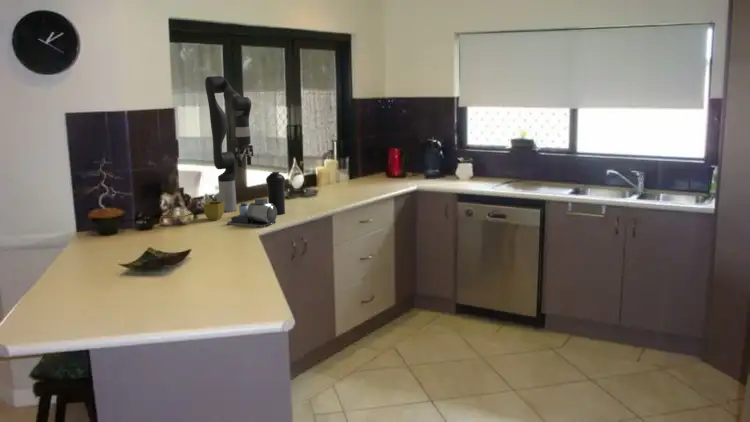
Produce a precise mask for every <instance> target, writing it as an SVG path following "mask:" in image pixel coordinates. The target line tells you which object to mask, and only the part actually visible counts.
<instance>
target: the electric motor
mask: <svg viewBox="0 0 750 422" xmlns="http://www.w3.org/2000/svg"><path fill="white" fill-rule="evenodd" d="M248 205H249V207H248V210H247V216H248V217H241V216H240V214H238V215H234V216H232V217H231V220H230V221H227V222H226V224H227V225H232V226H242V225H244V226H243V227H255V226H265V227H267V226H266V225H268V226H270V225H272V224H271V223H273V224H275V223H276V222H277V221H276V219H277V216H278V215H277V209H276V207H275V206H274V204H270V203H269V202H268V197H267V198H265V197H263V198H262V197H258V198H255V199H254V202H251V203H249V204H248ZM274 222H275V223H274ZM269 224H270V225H269Z"/></svg>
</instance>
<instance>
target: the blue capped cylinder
mask: <svg viewBox="0 0 750 422" xmlns="http://www.w3.org/2000/svg"><path fill="white" fill-rule="evenodd" d="M249 205H250V204H248V203H247V202H242V203H240V205H239V206H238V207H239V208H238V209H239V215H240V216H241V217H248V216H247V210H248V207H249Z"/></svg>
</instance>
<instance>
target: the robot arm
mask: <svg viewBox="0 0 750 422" xmlns="http://www.w3.org/2000/svg"><path fill="white" fill-rule="evenodd" d="M204 84H205V92H206V98H207V101H208V102H207V104H208V110H209V120H210V122H209V123H210V128H211V129H210V130H211V135H212V136H211V137H212V151H213V152H212V153H213V157H212V158H213V165H214V166H215V168H216V169H217V170H224V172H223V173H221V174H219V175H218V177H217V183H218V194H217V201H218V202H224V212H223V213H226V212H228V213H229V212H236V211H237V210H238V209H237V208H238V207H237V194H236V161H237V166H238V168H243V157H244V156H246V165H248V166H252V157H254V146H253V144H251V129H250V114H251V111H252V110H251V109H252V101H251V99H250V97H248V96H243V97H242V96H241V95H240V93H239V92H237V91H236V90H234V89H233V86H232V85H230V83H229V82H228V80H227V79H226V78H225V77H223V76H219V75H217V76H216V75H215V76H213V75H212V76H207V77H206V78H205V81H204ZM222 93H223V95H222V96H223V98H224V100H225V101H226V102H228V104H229V105H230V108H231V109H232V110H233V111H235V112H240V111H241V112H242V113H241V114H239V115H237V116H235V118H234V119H235V144H236V146H237V147H234V153H233V152H232V151H226V152H225V151H223V142H224V140H225V138H226V135H227V133H228V128H229V124H228V117H227V114H226V113H225V111H224V110H223V108H222V106H220V105H219V103H218V101H217V98H216V94H222Z"/></svg>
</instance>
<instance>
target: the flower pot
mask: <svg viewBox="0 0 750 422" xmlns="http://www.w3.org/2000/svg"><path fill="white" fill-rule="evenodd" d="M202 206H203V211H204V215H205V216H206V219H207V220H209V221H218V220H220V219H221V218H222V217H223V215H224V213H225V212H224V202H218V200H217V201H213V200H212V201H207V202H206V203H203V204H202Z"/></svg>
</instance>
